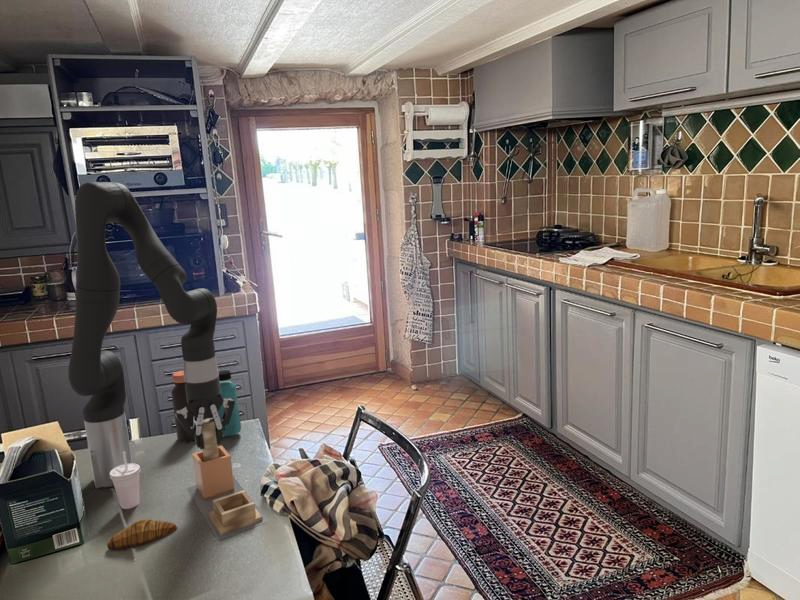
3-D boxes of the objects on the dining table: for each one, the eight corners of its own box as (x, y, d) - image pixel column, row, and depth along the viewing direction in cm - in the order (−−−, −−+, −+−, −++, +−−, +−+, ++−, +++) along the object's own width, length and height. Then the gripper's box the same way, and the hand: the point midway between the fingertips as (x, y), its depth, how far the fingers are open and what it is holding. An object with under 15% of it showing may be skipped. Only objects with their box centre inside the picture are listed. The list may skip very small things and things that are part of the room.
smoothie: (134, 516, 130) (125, 459, 127) (109, 514, 132) (99, 458, 129) (151, 501, 136) (143, 446, 134) (127, 499, 138) (118, 445, 135)
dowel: (209, 489, 136) (201, 426, 133) (205, 483, 139) (197, 421, 135) (223, 484, 138) (216, 422, 134) (219, 479, 140) (212, 417, 137)
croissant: (106, 560, 115) (102, 538, 114) (109, 542, 122) (105, 520, 121) (178, 542, 120) (175, 520, 119) (177, 525, 127) (174, 504, 126)
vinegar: (206, 435, 172) (198, 371, 168) (187, 444, 166) (179, 378, 162) (191, 431, 175) (183, 368, 171) (172, 439, 170) (163, 375, 166)
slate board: (218, 544, 118) (218, 540, 118) (187, 492, 140) (186, 488, 140) (269, 525, 124) (269, 521, 124) (232, 477, 146) (231, 474, 145)
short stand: (220, 535, 120) (218, 518, 119) (208, 515, 127) (206, 500, 127) (262, 519, 125) (260, 503, 124) (248, 501, 132) (246, 486, 131)
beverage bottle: (245, 431, 173) (238, 367, 169) (237, 441, 167) (229, 375, 163) (224, 431, 174) (217, 367, 170) (215, 441, 167) (207, 375, 163)
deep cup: (204, 500, 134) (200, 464, 132) (196, 488, 139) (192, 453, 138) (234, 490, 137) (230, 455, 136) (225, 479, 143) (221, 445, 141)
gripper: (227, 365, 139) (234, 432, 143) (165, 378, 132) (174, 448, 135) (237, 373, 133) (244, 442, 137) (173, 387, 126) (182, 460, 129)
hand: (209, 445), depth 136 cm, fingers closed on dowel, 3 cm apart
